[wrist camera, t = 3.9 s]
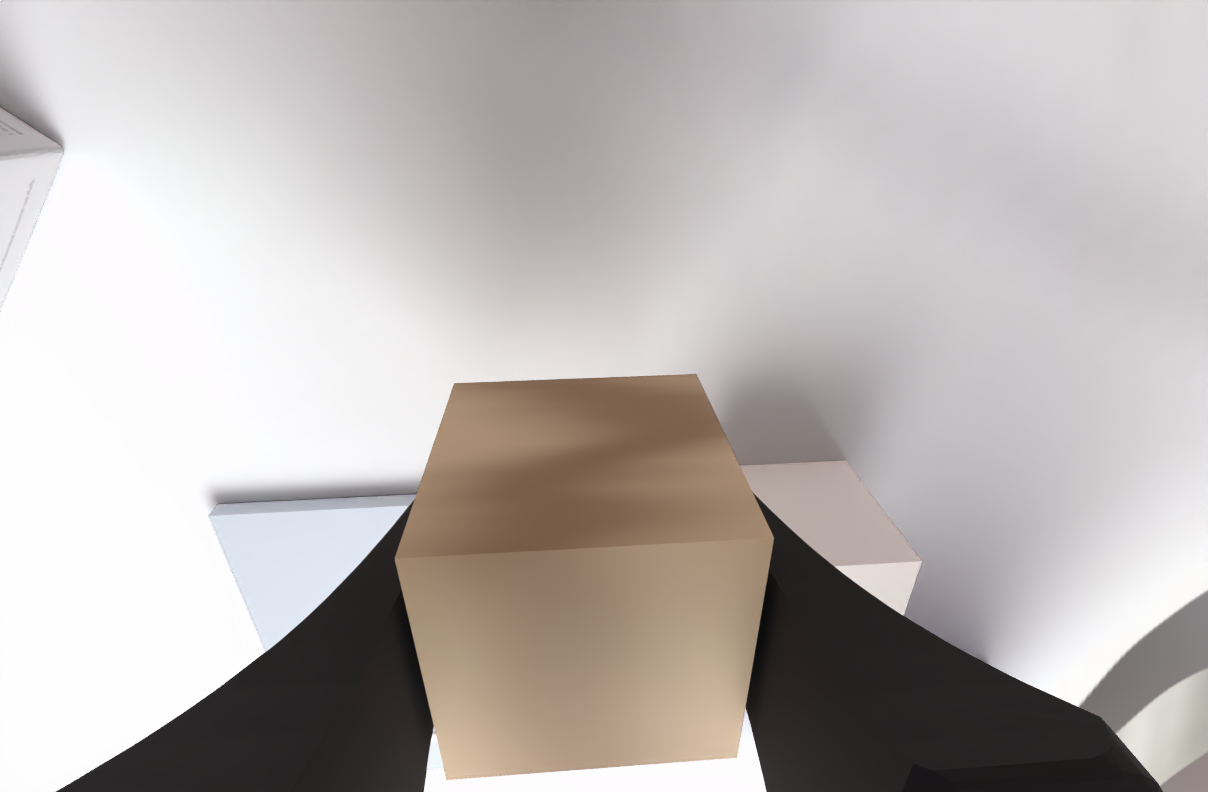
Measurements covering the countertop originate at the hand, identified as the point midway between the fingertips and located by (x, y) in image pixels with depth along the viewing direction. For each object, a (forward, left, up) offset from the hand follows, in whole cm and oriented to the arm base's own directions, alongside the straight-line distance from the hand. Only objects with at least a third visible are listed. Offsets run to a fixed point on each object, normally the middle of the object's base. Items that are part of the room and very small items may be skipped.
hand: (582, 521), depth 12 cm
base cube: (0, 0, -2) cm, 2 cm away
